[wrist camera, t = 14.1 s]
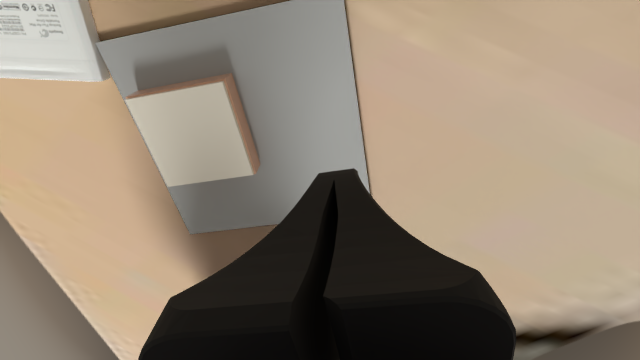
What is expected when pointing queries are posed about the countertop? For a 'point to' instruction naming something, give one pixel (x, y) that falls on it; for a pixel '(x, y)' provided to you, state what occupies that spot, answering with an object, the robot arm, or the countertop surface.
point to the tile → (196, 130)
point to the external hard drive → (50, 41)
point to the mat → (259, 101)
